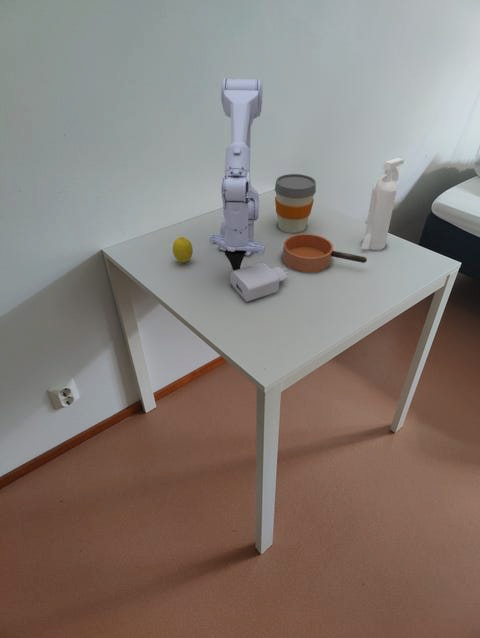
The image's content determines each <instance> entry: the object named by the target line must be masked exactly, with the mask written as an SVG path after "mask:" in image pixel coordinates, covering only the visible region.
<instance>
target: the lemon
mask: <svg viewBox="0 0 480 638" xmlns="http://www.w3.org/2000/svg"><path fill="white" fill-rule="evenodd" d="M193 251H194V249H193V245H192V242H191V241H190V239H188V238H186V237H185V236H180V237H178V238H177V239H175V240H174V242H173V243H172V254H173V256H174V258H175V259H176V260H177V261H179V262H181V263H186V262H188V261H190V260H191V258H192V256H193V254H194V253H193Z"/></svg>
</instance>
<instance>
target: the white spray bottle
mask: <svg viewBox="0 0 480 638" xmlns="http://www.w3.org/2000/svg"><path fill="white" fill-rule="evenodd" d="M404 162H405V158H399V157H396V158H393V159H389V160H386V161H385V160H384V162H383V166H382V170H384V171H383V174H381V176H380V177H379V178H378V179H377V181H375V182H374V183H373V185H372V190H371V195H370V197H371V198H370V201H369V202H370V203H369V208H368V214H367V220H366V227H365V231H364V238H363V241H362V243H361V245H360V248H361V249H362V250H372V251H380V250H383V249H384V248H385V247H386V243H387V239H388V234H389V228H390V225H391V220H392V215H393V211H394V206H395V200H396V195H397V191H398V190H397V189H398V188H397V182H398V180H399V178H400V177H399V175H400V173H399V170H398V168H397V167H400V166H401V165H404Z"/></svg>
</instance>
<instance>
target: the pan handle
mask: <svg viewBox="0 0 480 638" xmlns="http://www.w3.org/2000/svg"><path fill="white" fill-rule="evenodd" d="M329 252H330V251H329ZM329 252H328V253H329ZM331 256H332V258H336V259H341V260H348V261H352V262H357V263H362V264H366V262H367V260H368V259H367V257H366V256H362V255H356V254H351V253H347V252H341V251H337V250H333V251H332V254H331Z"/></svg>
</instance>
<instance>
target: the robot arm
mask: <svg viewBox="0 0 480 638" xmlns="http://www.w3.org/2000/svg"><path fill="white" fill-rule="evenodd" d="M263 84H264V83H263V80H262V78H226V77H223V79H222V80H221V84H220V101H221V105H222V109H223V112H224V116H226V117H228V118H230V137H231V138H230V139H231V143H230V144H229V145H228V146H227V147H226V149H225V160H224V161H225V162H224V177H223V178H222V179H221V187H220V188H221V189H220V190H221V191H220V192H221V199H222V211H223V212H222V213H223V219H222V221H221V222H220V228H219V229H220V230H219V233H220V234H211V236H209V237H208V241H209V245H210V246H214V245H217V246H220V247H219V250H220V251H223V252H224V256H225V257H226V258H227V259H228V262H229V263H230V265H231V269H232V271H235V270H238V269H241V267H242V263H243V261H244V258H245V256H249V257H250V255H251V254H252V253H255V254H257V255H258V256H263V255H264V254H265V251H266V245H265V244H261V243H259V242H258V241H254V240H255V239H254V238H255V236H254V235H255V221H258V219H259V215H260V194H259V192H258V190H257V189H255V187H253V186H252V182H251V140H252V139H251V137H252V126H253V122H254V120H255V119H257V118H259V117H261V113H262V106H263V93H264V91H263V88H264V85H263Z"/></svg>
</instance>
